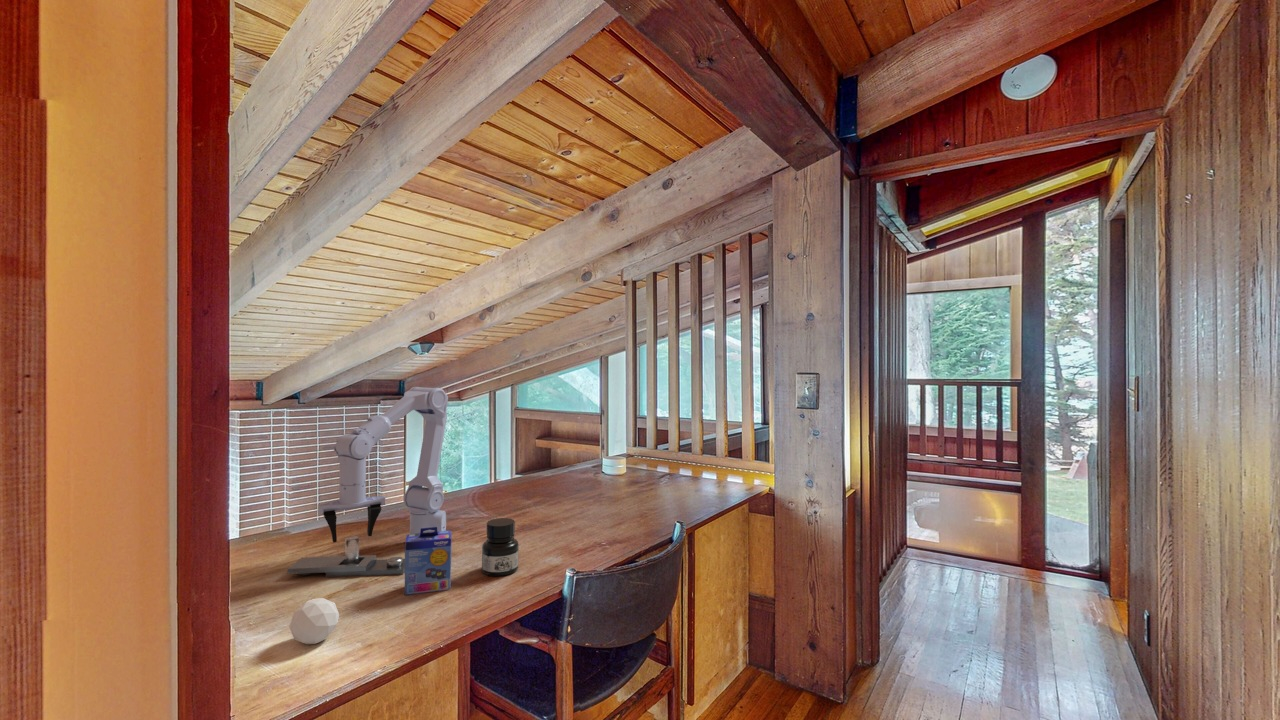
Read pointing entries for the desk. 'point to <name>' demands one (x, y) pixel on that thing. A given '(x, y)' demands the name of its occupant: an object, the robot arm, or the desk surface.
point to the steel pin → (352, 550)
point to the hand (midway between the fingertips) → (352, 538)
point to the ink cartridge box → (427, 561)
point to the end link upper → (329, 565)
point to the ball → (314, 621)
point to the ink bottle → (500, 548)
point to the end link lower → (376, 568)
